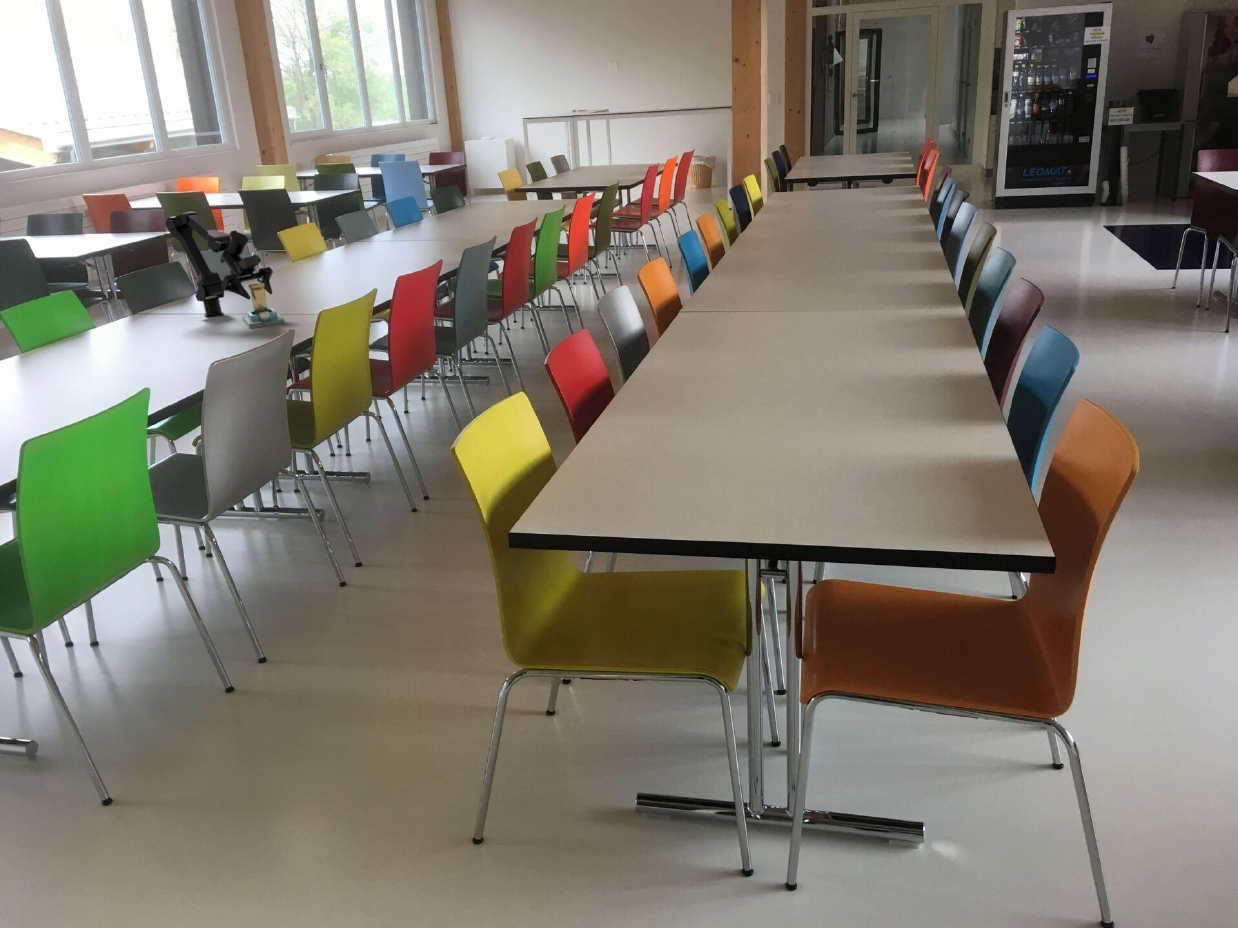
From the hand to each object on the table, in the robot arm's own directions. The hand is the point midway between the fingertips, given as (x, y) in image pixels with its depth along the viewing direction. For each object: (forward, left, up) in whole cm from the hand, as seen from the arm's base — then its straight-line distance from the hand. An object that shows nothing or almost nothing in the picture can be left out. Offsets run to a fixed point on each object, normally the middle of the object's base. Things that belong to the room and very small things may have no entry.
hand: (260, 296), depth 344 cm
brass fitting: (-1, -1, -8) cm, 8 cm away
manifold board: (-1, -1, -9) cm, 10 cm away
